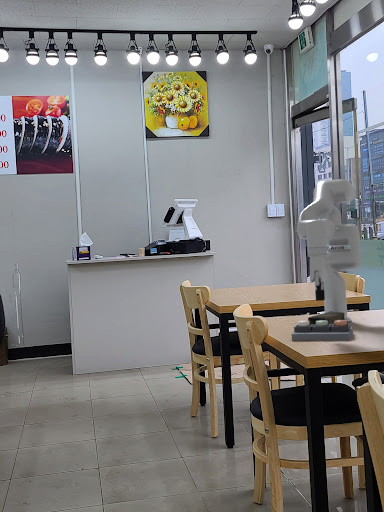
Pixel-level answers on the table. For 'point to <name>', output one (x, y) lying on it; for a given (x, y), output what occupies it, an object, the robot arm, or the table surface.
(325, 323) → the sage button
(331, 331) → the button panel
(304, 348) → the table surface
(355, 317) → the table surface
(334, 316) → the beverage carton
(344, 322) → the terracotta button
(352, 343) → the table surface
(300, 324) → the cream button
